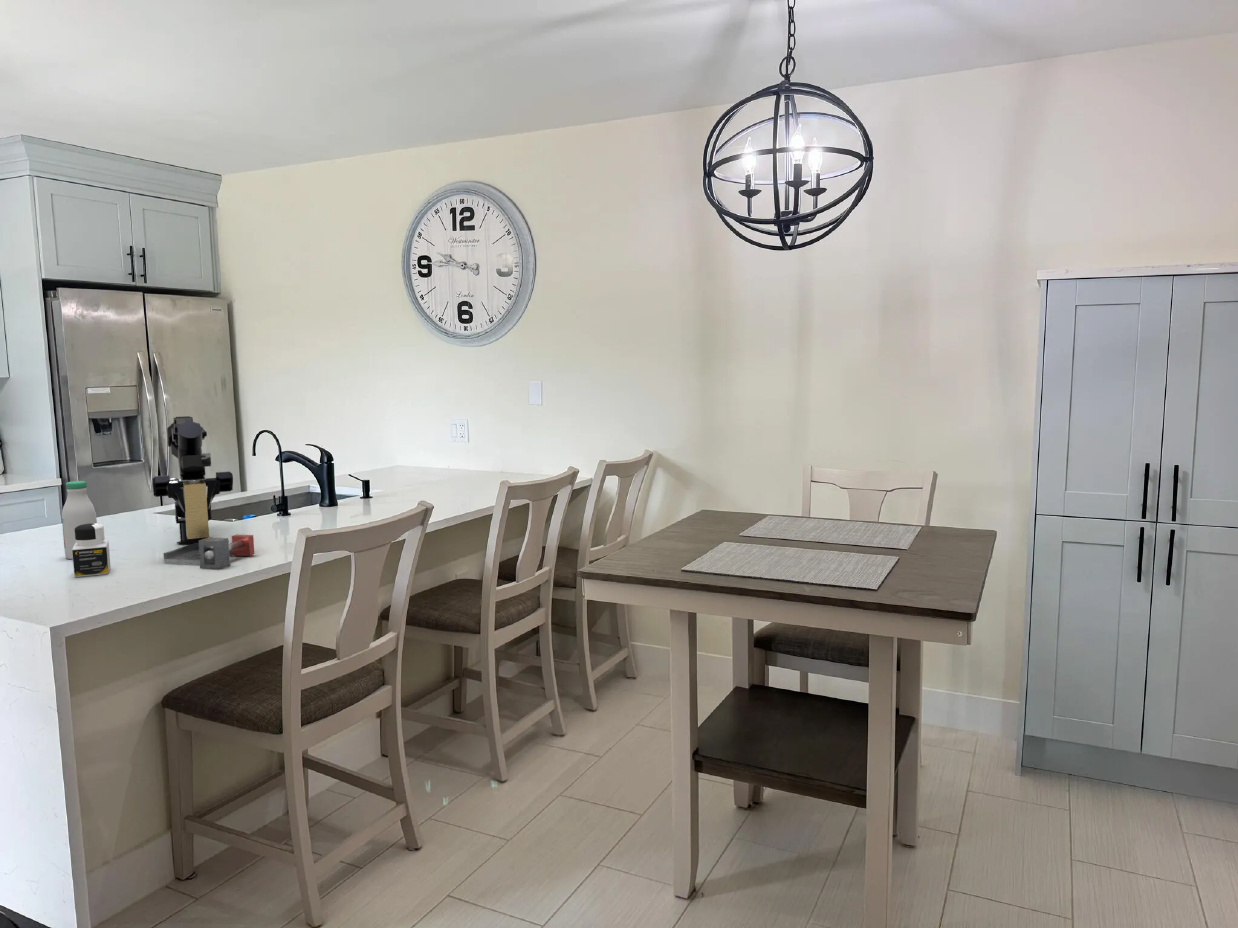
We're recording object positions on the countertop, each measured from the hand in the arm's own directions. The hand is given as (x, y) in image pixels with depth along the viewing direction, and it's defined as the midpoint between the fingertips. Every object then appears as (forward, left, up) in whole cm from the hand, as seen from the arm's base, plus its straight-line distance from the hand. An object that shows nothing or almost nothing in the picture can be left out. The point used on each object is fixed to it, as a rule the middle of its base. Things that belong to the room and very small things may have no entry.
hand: (196, 510), depth 219 cm
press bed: (-1, +2, -13) cm, 13 cm away
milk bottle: (-34, -1, -13) cm, 36 cm away
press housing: (+8, -5, -13) cm, 16 cm away
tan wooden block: (-1, +1, -7) cm, 7 cm away
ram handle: (+8, 0, -13) cm, 15 cm away
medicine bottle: (-18, -15, -13) cm, 27 cm away
